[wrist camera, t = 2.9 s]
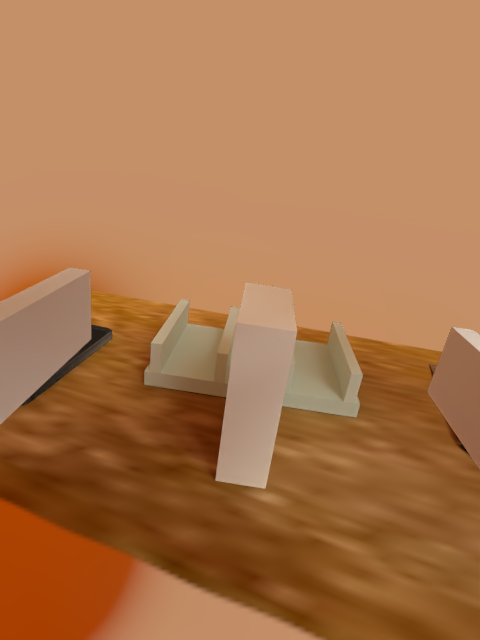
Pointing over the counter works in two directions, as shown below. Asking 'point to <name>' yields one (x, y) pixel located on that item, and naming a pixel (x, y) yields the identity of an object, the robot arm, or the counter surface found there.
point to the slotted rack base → (215, 360)
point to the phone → (77, 357)
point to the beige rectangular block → (256, 384)
